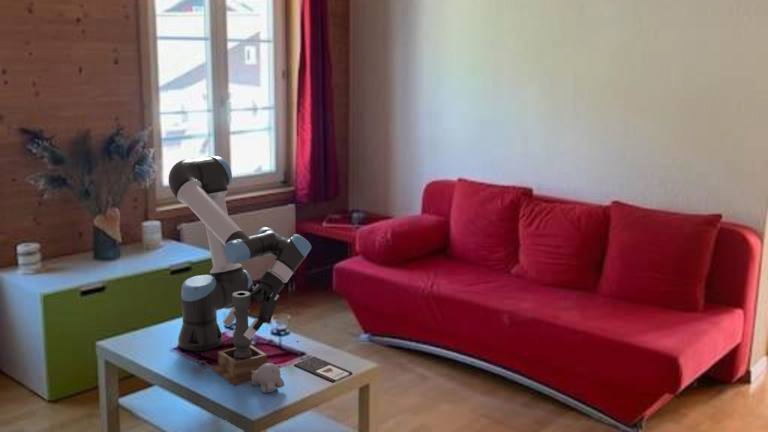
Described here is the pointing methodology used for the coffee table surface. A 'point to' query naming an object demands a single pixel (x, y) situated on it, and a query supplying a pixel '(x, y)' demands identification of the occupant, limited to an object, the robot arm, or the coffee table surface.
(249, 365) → the open wooden box
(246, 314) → the candle holder
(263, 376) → the chubby cartoon animal
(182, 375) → the coffee table surface
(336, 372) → the chocolate bar
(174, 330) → the coffee table surface
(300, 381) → the coffee table surface
